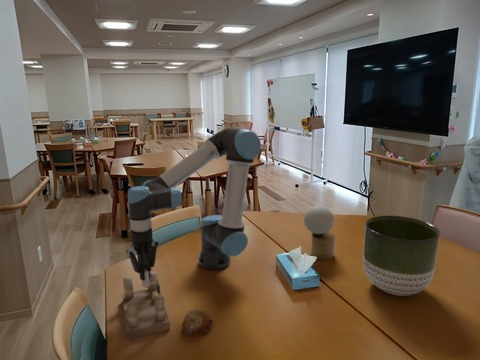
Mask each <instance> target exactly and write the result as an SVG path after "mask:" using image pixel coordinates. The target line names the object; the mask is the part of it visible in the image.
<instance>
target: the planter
mask: <svg viewBox="0 0 480 360" xmlns="http://www.w3.org/2000/svg"><path fill="white" fill-rule="evenodd" d="M364 224H365V225H364V231H363V232H364V234H363V235H364V237H363V255H362V264H363V269H364V272H365V274H366V277H367V279H368V280H369V281H370V282H371V283H372V285H374V286H375V287H376V288H377V289H379V290H381V291H383V292H385V293H387V294H390V295H393V296H398V297H400V296H401V297H403V296H405V297H406V296H407V297H408V296H413V295H416V294H419V293H421V292H422V291H425V289H427V287H428V286H429V285H430V283H431V282H432V279H433V278H434V274H435V271H436V263H437V256H438V252H439V244H440V239H441V231H440V229H438V228H437V226H436V225H435V226H434V225H433V224H432V223H429V222H427V221H424V220H421V219H418V218H413V217H410V216H409V217H407V216H402V215H401V216H400V215H377V216H373V217H371V218H368V219H367V220H366V221H365V223H364Z"/></svg>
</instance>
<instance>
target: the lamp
mask: <svg viewBox="0 0 480 360" xmlns="http://www.w3.org/2000/svg"><path fill="white" fill-rule="evenodd" d="M334 221H335V219H334V215H333V213H332V211H331V210H330V209H329V208H327V207H326V206H323V205H314V206H312V207H310V208H308V209H307V211H306V212H305V214H304V218H303V222H304V226H305V227H306V230H307V231H309V232H311V242H310V243H311V245H310V246H311V247H310V255H311V254H312V255H311V256H312V257H313V256H316V257H317V258H318V260H323V259H327V260H330V259H329V258H331V259H333V258H334V257H335V246H336V245H335V244H336V243H335V242H336V234H334V233H333V232H330V231H331V230H332V228H333V226H334V224H335V223H334ZM333 256H334V257H333ZM332 257H333V258H332ZM317 258H316V259H317Z"/></svg>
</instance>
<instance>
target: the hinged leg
mask: <svg viewBox="0 0 480 360" xmlns="http://www.w3.org/2000/svg"><path fill="white" fill-rule="evenodd" d="M158 282H159V279H158V272H157V271H150V277H149V285H150V293H152V301H155V300H154V299H155V297H157V296H159V294H158V293H157V292H158Z"/></svg>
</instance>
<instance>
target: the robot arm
mask: <svg viewBox="0 0 480 360" xmlns="http://www.w3.org/2000/svg"><path fill="white" fill-rule="evenodd" d="M261 149H262V143H261V138H260V137H259V136H258V134H257V133H256V132H254V131H252V130H249V129H247V128H237V127H236V128H235V127H227V128H226V127H225V128H224V129H221V130H220V131H218V132H216V133H215V134H213V135H212V136H210V137H209V138H207V139H206V140H205V141H204V144H203V145H202V146H200V147H199V148H197V149H196V150H194V151H192V152H191V153H190V154H188V155H187V156H186V157H184V158H183V159H182V160H180V161H179V162H177V163H176V164H174V165H173V166H171V167H170V168H169V169H167V170H166V171H165V172H163V173H162V174H159V176H157V177H156V178H154V179H149V180H146V181H144V182H143V183H142V185H139V186H138V185H137V186H133V187H130V188H128V190H127V203H128V212H129V213H128V214H129V222H130V223H129V225H130V229H131V230H130V236H131V237H130V238H131V241H132V242H131V243H132V244H131V247H130V249H127V250H126V251H125V253H126V255H127V256H128V257H129V259H130V262H131V265H132V268H133V271H134V272H136V273H137V274H139V280H141V286H142V287H144V288H145V289H148V287H150V285H149V277H150V272H152V270H153V269H152V268H154V267H155V263H156V257H157V249H158V246H159V241H157V240H155V239H154V238H153V223H152V222H153V221H152V212H154V211H156V212H157V211H161V210H167V209H174V208H176V207H179V206H181V205H182V201H183V194H182V191H181V190H180V189H179V187H177V186H178V185H180V184H181V183H183V182H184V181H186V180H187V179H188V178H189V177H191V176H192V175H194V174H195V173H197V172H198V171H199V170H200V169H202V168H203V167H205V166H206V165H207V164H209V163H211V162H212V161H213V160H215V159H217V160H218V159H220V158H221V157H223V156H225V155H226V156H225V160H226V162H227V163H228V169H227V176H226V184H225V192H224V193H225V194H224V201H223V207H222V214H213V215H207V216H205V217H202V219H200V237H201V238H200V239H201V241H200V242H201V249H200V252H199V256H198V265H199V266H200V268H202V269H204V270H209V271H210V270H211V271H218V270H222V269H225V268H226V267H228V266H229V265H230V264H231V257H237V256H239V255H241V254H242V253H243V252H244V251H245V250H246V248H247V246H248V241H249V240H248V236H247V235H246V233H245V227H246V226H245V223H244V222H243V216H244V207H245V198H246V192H247V185H248V177H249V171H250V170H249V169H250V166H251V165H253V164H254V159H256V158H257V156H259V154H260V153H261Z"/></svg>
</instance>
